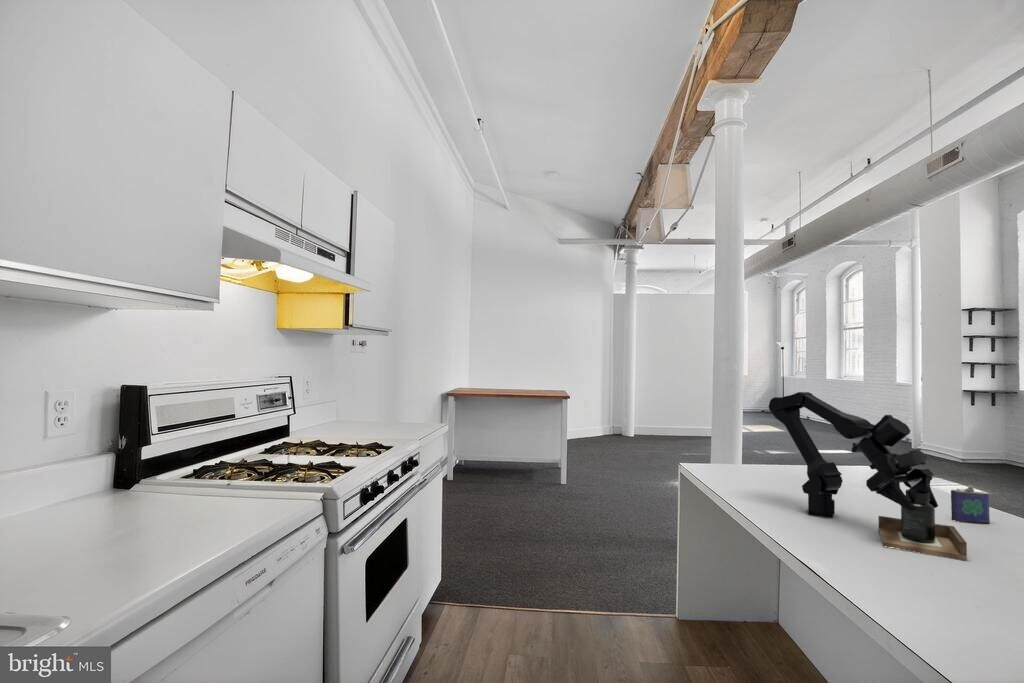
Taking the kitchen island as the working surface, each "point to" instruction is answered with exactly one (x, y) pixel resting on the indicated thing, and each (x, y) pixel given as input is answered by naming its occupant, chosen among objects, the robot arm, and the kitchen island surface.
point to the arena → (944, 545)
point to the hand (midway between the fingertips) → (924, 508)
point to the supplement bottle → (918, 518)
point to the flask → (970, 506)
